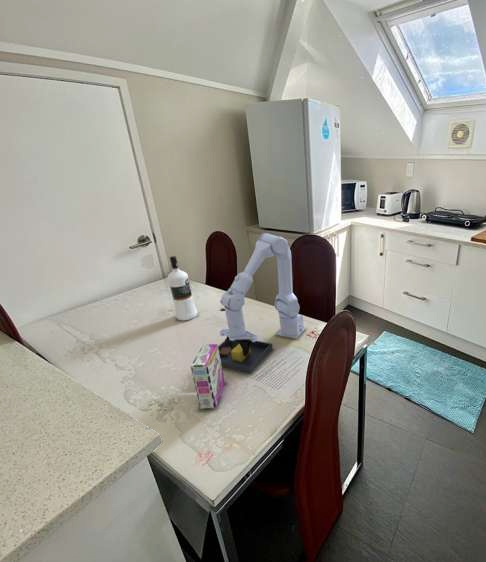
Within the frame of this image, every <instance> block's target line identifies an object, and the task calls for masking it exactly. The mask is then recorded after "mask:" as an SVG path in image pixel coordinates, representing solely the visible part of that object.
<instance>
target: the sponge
mask: <svg viewBox="0 0 486 562" xmlns="http://www.w3.org/2000/svg"><path fill="white" fill-rule="evenodd" d="M250 353H251V351H250V348H249V354H250ZM231 354H232V359H233V360H235V361H240V362H242V361H243V360H244V359H245V358H246V357H247V356H248V355H249V354H248V355H247V356H246V357H245V356H244V354H243V350H242V347H241V346H240V344H238V345H237V346H236V347H235V348H234V349H233V350H232V351H231Z"/></svg>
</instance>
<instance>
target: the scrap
mask: <svg viewBox="0 0 486 562" xmlns="http://www.w3.org/2000/svg"><path fill="white" fill-rule="evenodd" d="M231 351H232V349H231V348H224V347H223V348H222V349H221V350H220V351H219V354H220V356H223V357H228V356H229V355H230V353H231Z"/></svg>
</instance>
